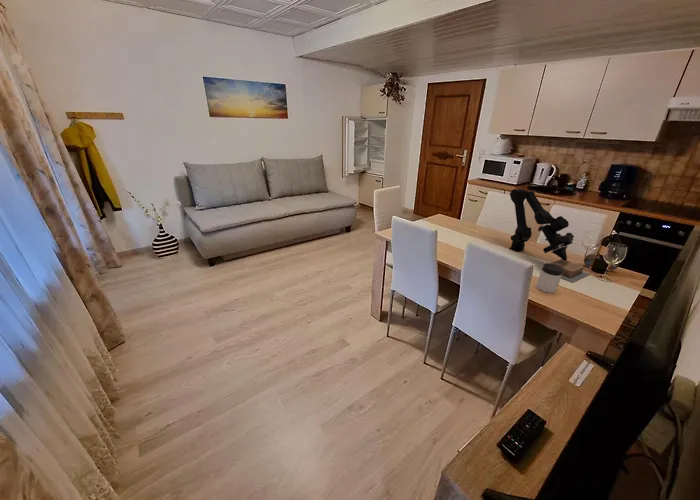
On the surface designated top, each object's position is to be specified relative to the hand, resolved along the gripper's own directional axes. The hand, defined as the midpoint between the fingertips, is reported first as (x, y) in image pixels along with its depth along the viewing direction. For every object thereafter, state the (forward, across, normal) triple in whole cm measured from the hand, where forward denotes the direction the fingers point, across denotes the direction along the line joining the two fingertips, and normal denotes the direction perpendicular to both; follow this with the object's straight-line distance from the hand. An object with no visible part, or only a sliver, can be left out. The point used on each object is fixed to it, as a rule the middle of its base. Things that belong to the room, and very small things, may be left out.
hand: (566, 260), depth 160 cm
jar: (+9, -27, +1) cm, 28 cm away
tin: (+11, +22, -1) cm, 25 cm away
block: (0, 0, +6) cm, 6 cm away
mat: (+7, 0, +3) cm, 7 cm away
